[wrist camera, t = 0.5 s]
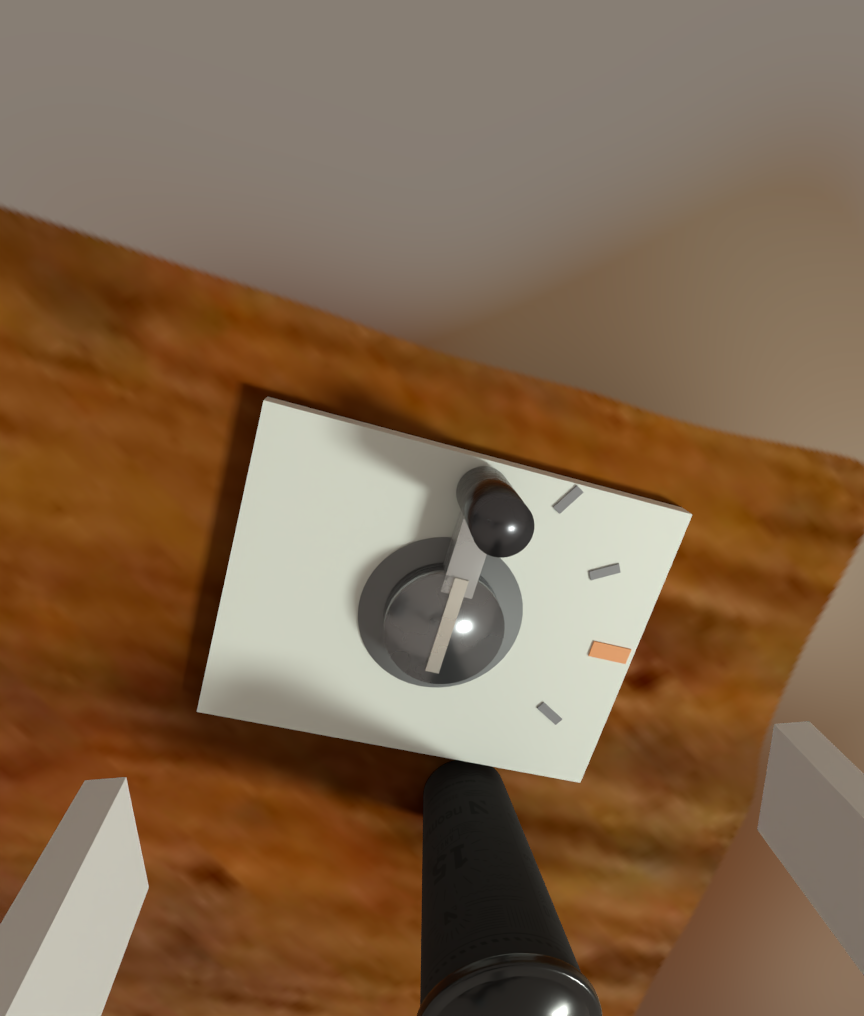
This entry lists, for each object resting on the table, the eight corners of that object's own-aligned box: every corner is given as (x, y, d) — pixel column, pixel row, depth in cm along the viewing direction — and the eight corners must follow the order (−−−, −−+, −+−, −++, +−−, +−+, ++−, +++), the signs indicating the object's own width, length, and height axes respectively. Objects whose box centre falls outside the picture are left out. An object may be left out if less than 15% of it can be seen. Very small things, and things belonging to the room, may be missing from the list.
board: (202, 698, 36) (196, 712, 34) (267, 396, 31) (263, 400, 30) (574, 768, 39) (580, 783, 38) (681, 507, 35) (693, 515, 33)
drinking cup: (552, 778, 39) (721, 1224, 20) (471, 861, 41) (558, 1351, 22) (455, 715, 37) (542, 1143, 18) (373, 804, 39) (376, 1289, 20)
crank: (478, 677, 35) (497, 743, 30) (370, 654, 34) (370, 718, 29) (547, 480, 32) (581, 516, 27) (430, 449, 31) (441, 480, 26)
